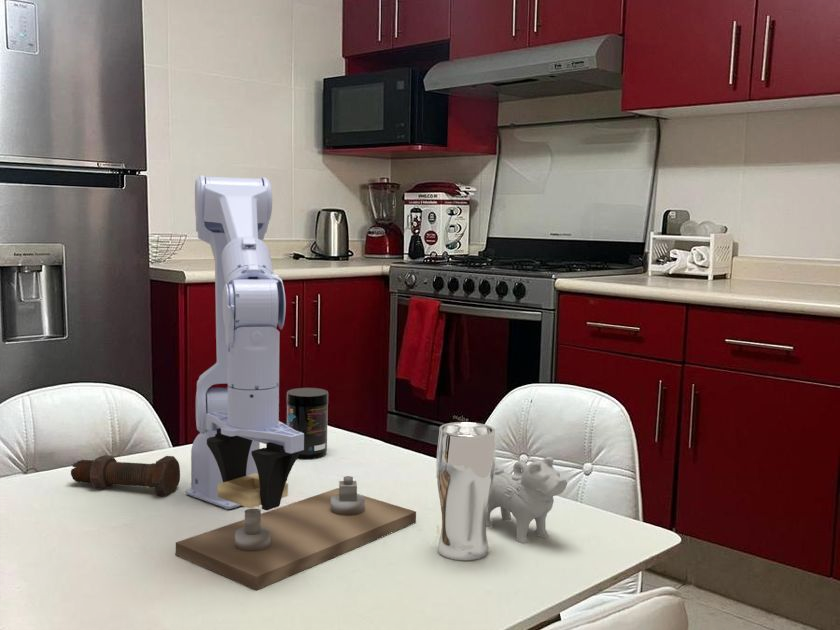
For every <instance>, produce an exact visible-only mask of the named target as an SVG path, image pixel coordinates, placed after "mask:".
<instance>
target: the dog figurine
mask: <svg viewBox="0 0 840 630" xmlns="http://www.w3.org/2000/svg"><path fill="white" fill-rule="evenodd" d="M554 460H555V459H554V458H553V457H552V456H547V457H544V458H543V459H540V460H535V461H531V463H529V464H527V463H526V462H524V461H523V460H518V461H516V462H515V463H514V465H513V472H514V473H513V474H510V473H509V472H507V471H504V470H505V469H504V468H503V467H500V466H496V465H495V476H494V482H493V488H492V493H491V497H490V502H489V506H488V511H487V517H486V529H487V528H493V526H494V525H493V523H492V521H491V517H490V516H491V513H492V511H493V510H495V509H497V508H500V515H501V519H502V520H503V521H505V522H511V521H513V520H512V519H513V518H512V516H513V517H514V519H515V520H516V543H520V544H523V545H524V544H528V542H529V540H528V538H527V535H528V531H529V527H530V524H531V522H532V521H533V520H535V532H536V535H537V536H539V537H545V538H546V537H548V536H549V534H548V531H547V528H546V520H547V519H546V518H547V515H548V513H549V512H550V511H551V510H552V508H553V505H554V501H555V499H554V497H555V496H559V495H561V494H562V493H564V491H565V490H566V488H567V485H568V481H567V480H566V479H565V478H562V477H561V474H560V471H558V470H556V469H555V468H554V466H553V464H554Z"/></svg>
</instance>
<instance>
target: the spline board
mask: <svg viewBox="0 0 840 630" xmlns="http://www.w3.org/2000/svg"><path fill="white" fill-rule="evenodd" d="M338 482H339V483H338V487H337V488H333V489H331V490H328V491H325V492H322V493H320V494H319V493H318V494H316V495H313V496H309V497H307V498H304V499H301V500H298V501H295V502H292V503H289V504H286V505H283V506H279V507H276V508H273V509H270V510H267V511H266V512H262V511H261V509H259V508H247V509H246V510H245V511H244V519H241V520H239V521H236V522H233V523H230V524H227V525H224V526H220V527H218V528H214V529H212V530H211V529H210V530H209V531H206V532H202V533H200V534H197V535H193V536H191V537H188V538H185V539H182V540H179V541H176V542H175V556H177V557H179V558H182V559H184V560H186V561H189V562H191V563H193V564H196V565H197V566H200V567H202V568H205V569H207V570H209V571H212V572H214V573H216V574H218V575H220V576H223V577H225V578H228V579H230V580H232V581H234V582H237V583H239V584H241V585H244V586H246V587H247V588H250V589H252V590H255V591H258V590H260V589H263V588H265V587H267V586H269V585H272V584H275V583H277V582H279V581H282V580H284V579H286V578H289V577H291V576H294V575H296V574H298V573H301V572H303V571H305V570H308V569H310V568H312V567H315V566H317V565H319V564H321V563H323V562H327V561H329V560H331V559H333V558H336V557H338V556H341V555H343V554H346V553H348V552H350V551H352V549H353V550H355V549H357V548H359V546H360V547H362V546H364V545H366V543H367V542H369V543H371V542H370V541H372V540H374V541H376V540H378V539H377V538H379V539H381V538H383V537H385V536H384V535H386V536H388V535H390V534H392V533H391V532H393V533H395V532H397V531H399V530H398V529H400V530H402V529H404V528H403V527H405V526H407V527H409V526H411V524H412V525H414V524H416V523H417V511H415V510H412V509H408V508H405V507H403V506H399V505H396V504H392V503H390V502H386V501H382V500H379V499H377V498H372V497H369V496H365V495H361V494H360V493H358V483H357V482H358V481H357V480H354V476H350V475H345V476H343V480H339V481H338ZM413 523H414V524H413ZM408 525H409V526H408ZM401 528H402V529H401ZM405 528H406V527H405ZM396 530H397V531H396ZM394 531H395V532H394ZM389 533H390V534H389ZM387 534H388V535H387ZM382 536H383V537H382ZM380 537H381V538H380ZM375 539H376V540H375ZM372 542H373V541H372ZM363 544H364V545H363ZM367 544H368V543H367ZM361 545H362V546H361ZM354 548H355V549H354Z"/></svg>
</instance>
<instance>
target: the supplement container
mask: <svg viewBox="0 0 840 630" xmlns="http://www.w3.org/2000/svg"><path fill="white" fill-rule="evenodd" d="M328 405H329V391H328V390H326V389H324V388H317V387H302V388H301V387H299V388H292V389H289V390H287V392H286V425H287V426H289V427H290V428H292V429H294V430H296V431H298V432H301V433H304V450H302V451H301V453H300V455H299V456H298V458H297V459H300V460H309V459H310V460H311V459H318V458H321V457H324V456H325V455H326V453H327V452H328V420H329V419H328V415H329V414H328V413H329V411H328V408H329V407H328Z"/></svg>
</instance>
